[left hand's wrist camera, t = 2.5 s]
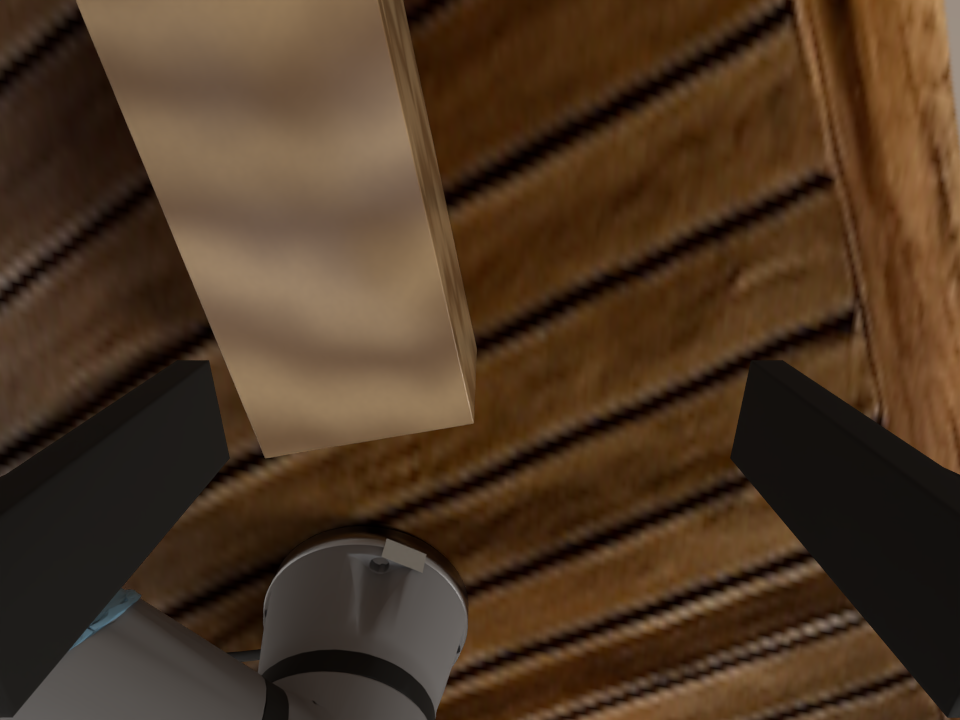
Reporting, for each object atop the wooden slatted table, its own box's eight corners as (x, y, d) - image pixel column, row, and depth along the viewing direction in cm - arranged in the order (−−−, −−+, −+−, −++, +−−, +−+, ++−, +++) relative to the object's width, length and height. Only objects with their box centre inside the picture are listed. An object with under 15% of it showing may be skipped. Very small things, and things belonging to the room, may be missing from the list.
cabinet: (191, -13, 25) (32, -104, 16) (390, -62, 24) (335, -186, 15) (323, 377, 33) (264, 458, 24) (476, 349, 32) (474, 423, 23)
